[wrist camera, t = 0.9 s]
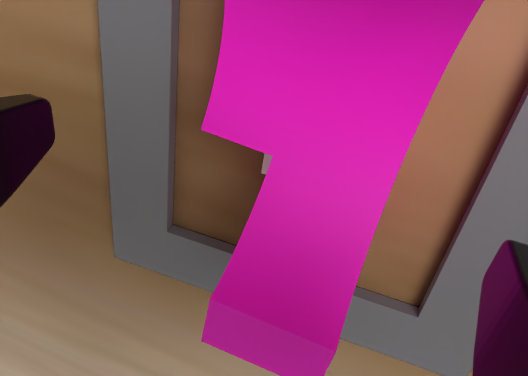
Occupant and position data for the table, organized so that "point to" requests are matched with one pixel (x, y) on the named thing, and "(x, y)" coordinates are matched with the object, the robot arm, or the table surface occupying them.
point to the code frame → (218, 252)
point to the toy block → (317, 157)
